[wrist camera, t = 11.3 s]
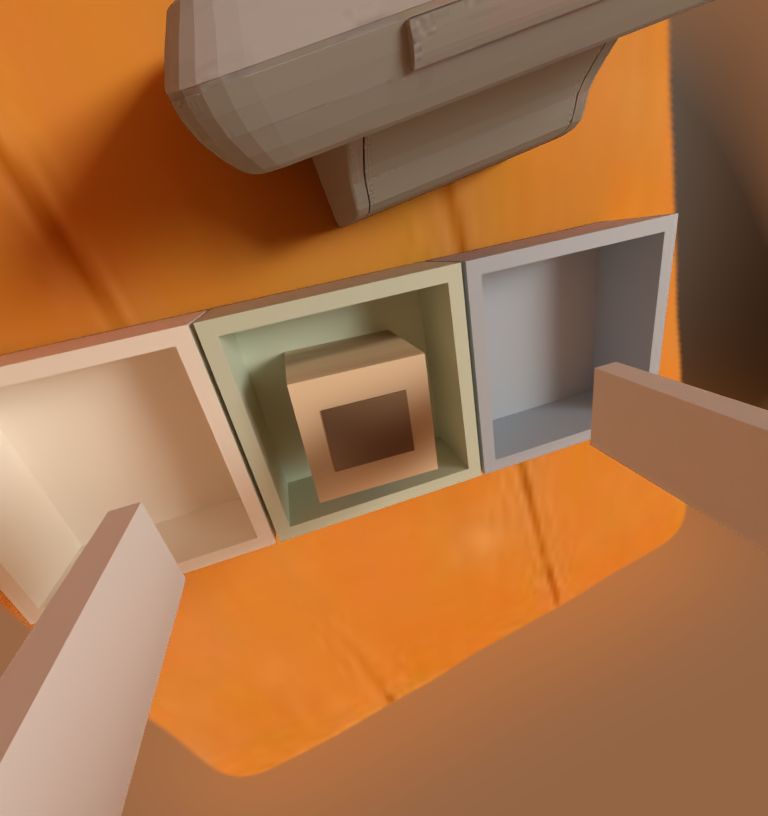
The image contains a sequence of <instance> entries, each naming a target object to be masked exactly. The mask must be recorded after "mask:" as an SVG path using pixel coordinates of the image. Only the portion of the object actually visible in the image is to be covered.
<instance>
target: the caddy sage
mask: <svg viewBox="0 0 768 816" xmlns="http://www.w3.org/2000/svg"><path fill="white" fill-rule="evenodd" d="M193 324H194V327H195V329H196V332H197V334H198V337H199V339H200V342H201V345H202V347H203V350H204V352H205V355H206V357H207V360H208V362H209V365H210V367H211V370H212V372H213V375H214V377H215V380H216V382H217V385H218V387H219V390H220V392H221V395H222V397H223V400H224V402H225V405H226V407H227V410H228V412H229V415H230V417H231V420H232V422H233V425H234V427H235V430H236V432H237V435H238V437H239V440H240V442H241V445H242V447H243V450H244V452H245V455H246V457H247V460H248V462H249V465H250V467H251V470H252V472H253V475H254V477H255V480H256V482H257V485H258V487H259V490H260V492H261V495H262V497H263V500H264V503H265V505H266V508H267V510H268V513H269V515H270V518H271V520H272V523H273V525H274V528H275V530H276V533H277V535H278V538H279V540H280V542H282V541H285V540H288V539H291V538H294V537H297V536H300V535H303V534H306V533H309V532H312V531H315V530H318V529H321V528H324V527H327V526H330V525H333V524H336V523H339V522H342V521H345V520H348V519H351V518H354V517H357V516H360V515H363V514H366V513H369V512H372V511H375V510H378V509H381V508H384V507H387V506H390V505H393V504H396V503H399V502H402V501H405V500H409V499H412V498H415V497H418V496H421V495H424V494H427V493H430V492H433V491H436V490H439V489H442V488H445V487H448V486H451V485H454V484H457V483H460V482H463V481H466V480H469V479H472V478H475V477H478V476H481V467H480V456H479V446H478V436H477V425H476V415H475V404H474V394H473V383H472V373H471V362H470V352H469V341H468V331H467V320H466V310H465V300H464V289H463V279H462V268H461V263H460V262H418V263H413V264H409V265H404V266H400V267H395V268H391V269H386V270H382V271H378V272H373V273H369V274H364V275H360V276H355V277H351V278H346V279H342V280H337V281H333V282H328V283H324V284H319V285H315V286H310V287H306V288H301V289H297V290H292V291H288V292H283V293H279V294H274V295H270V296H265V297H261V298H256V299H252V300H247V301H243V302H238V303H234V304H229V305H225V306H220V307H216V308H212V309H211V310H209V311H208V312H207V313H206V314H204V315H203V316H202V317H200V318H199V319H198V320H197V321H195V322H194V323H193ZM384 330H389V331H391V332H393V333H394V334H396V335H397V336H399V337H400V338H402V339H403V340H405V341H407V342H408V343H410V344H411V345H413V346H414V347H416V348H417V349H419V350H421V351H422V352H424V353H425V359H426V368H427V376H428V385H429V394H430V403H431V412H432V420H433V429H434V438H435V447H436V455H437V464H438V469H435V470H432V471H428V472H425V473H422V474H418V475H415V476H411V477H408V478H404V479H401V480H397V481H394V482H391V483H387V484H384V485H380V486H377V487H373V488H370V489H366V490H363V491H360V492H356V493H353V494H349V495H346V496H342V497H339V498H335V499H332V500H329V501H325V502H322V503H320V502H319V499H318V495H317V491H316V488H315V484H314V481H313V477H312V474H311V470H310V466H309V463H308V459H307V456H306V452H305V448H304V445H303V441H302V438H301V434H300V430H299V427H298V423H297V420H296V416H295V412H294V409H293V405H292V402H291V398H290V394H289V391H288V387H287V380H286V368H285V356H284V352H286V351H291V350H296V349H300V348H305V347H310V346H314V345H319V344H324V343H328V342H333V341H338V340H342V339H347V338H352V337H356V336H361V335H365V334H370V333H375V332H379V331H384Z"/></svg>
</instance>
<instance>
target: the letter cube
mask: <svg viewBox="0 0 768 816" xmlns="http://www.w3.org/2000/svg"><path fill="white" fill-rule="evenodd" d="M284 356H285V368H286V380H287V387H288V391H289V394H290V398H291V402H292V405H293V409H294V412H295V416H296V420H297V423H298V427H299V430H300V434H301V438H302V441H303V445H304V448H305V452H306V456H307V459H308V463H309V466H310V470H311V474H312V477H313V481H314V484H315V488H316V491H317V495H318V499H319V502H320V503H322V502H325V501H329V500H332V499H335V498H339V497H342V496H346V495H349V494H353V493H356V492H360V491H363V490H366V489H370V488H373V487H377V486H380V485H384V484H387V483H391V482H394V481H397V480H401V479H404V478H408V477H411V476H415V475H418V474H422V473H425V472H428V471H432V470H435V469H438V464H437V455H436V447H435V438H434V429H433V420H432V412H431V403H430V394H429V385H428V376H427V368H426V359H425V353H424V352H422V351H421V350H419V349H417V348H416V347H414V346H413V345H411V344H410V343H408V342H407V341H405V340H403V339H402V338H400V337H399V336H397V335H396V334H394V333H393V332H391V331H389V330H384V331H379V332H375V333H370V334H365V335H361V336H356V337H352V338H347V339H342V340H338V341H333V342H328V343H324V344H319V345H314V346H310V347H305V348H300V349H296V350H291V351H286V352H284Z"/></svg>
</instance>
